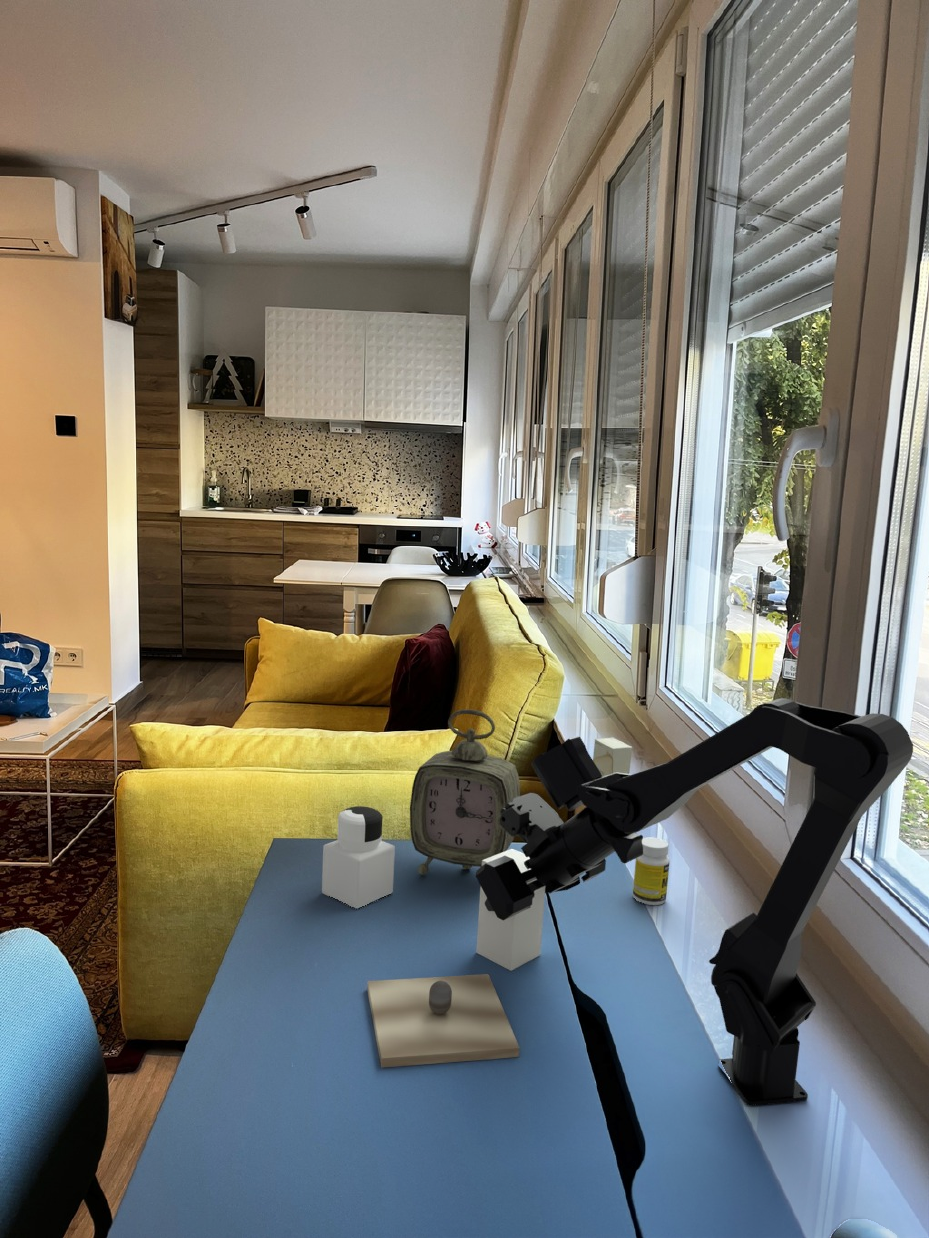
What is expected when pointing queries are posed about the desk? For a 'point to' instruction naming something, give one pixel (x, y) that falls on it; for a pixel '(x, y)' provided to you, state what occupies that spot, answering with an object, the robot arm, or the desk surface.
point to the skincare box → (612, 756)
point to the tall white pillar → (511, 926)
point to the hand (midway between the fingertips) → (503, 899)
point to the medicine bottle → (358, 859)
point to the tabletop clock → (462, 802)
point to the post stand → (439, 1020)
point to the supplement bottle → (652, 872)
